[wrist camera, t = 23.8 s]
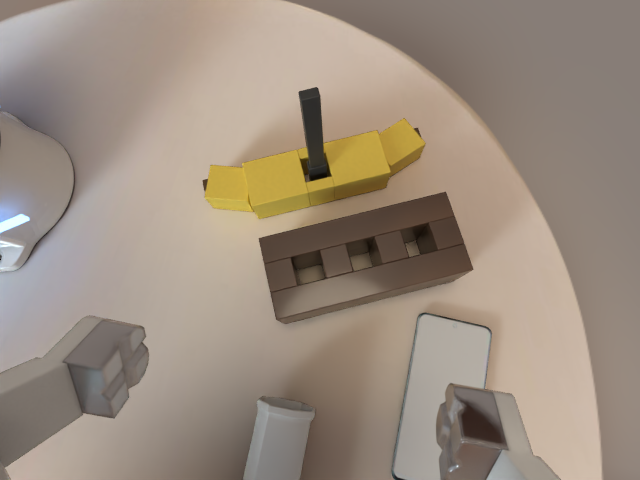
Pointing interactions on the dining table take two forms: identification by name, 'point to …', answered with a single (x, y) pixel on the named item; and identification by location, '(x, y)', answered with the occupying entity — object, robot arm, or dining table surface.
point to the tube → (278, 439)
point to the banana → (290, 167)
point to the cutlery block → (360, 237)
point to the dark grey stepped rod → (313, 133)
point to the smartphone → (436, 388)
